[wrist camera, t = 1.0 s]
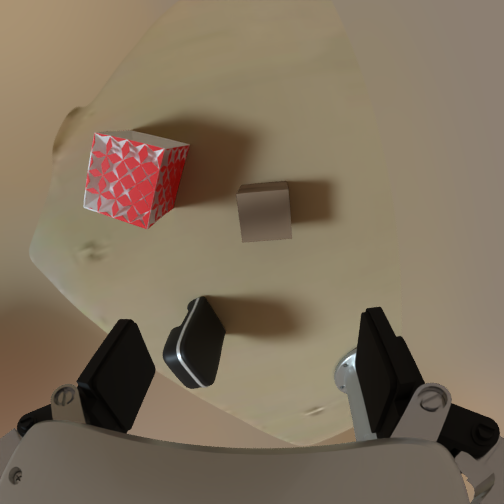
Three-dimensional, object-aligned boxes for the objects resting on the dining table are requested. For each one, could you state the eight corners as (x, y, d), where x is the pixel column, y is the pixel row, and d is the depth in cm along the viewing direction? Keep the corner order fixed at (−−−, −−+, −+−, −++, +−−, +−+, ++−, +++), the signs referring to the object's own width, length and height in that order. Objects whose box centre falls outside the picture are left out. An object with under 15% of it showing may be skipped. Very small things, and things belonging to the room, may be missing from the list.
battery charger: (180, 301, 38) (153, 357, 28) (204, 293, 37) (180, 350, 27) (205, 337, 41) (187, 396, 30) (227, 331, 40) (214, 392, 29)
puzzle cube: (190, 144, 30) (165, 148, 23) (173, 207, 33) (147, 229, 26) (130, 130, 29) (93, 132, 22) (118, 190, 33) (82, 207, 25)
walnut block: (289, 223, 33) (292, 238, 28) (246, 226, 33) (242, 242, 29) (286, 180, 31) (288, 189, 26) (241, 185, 32) (236, 193, 27)
